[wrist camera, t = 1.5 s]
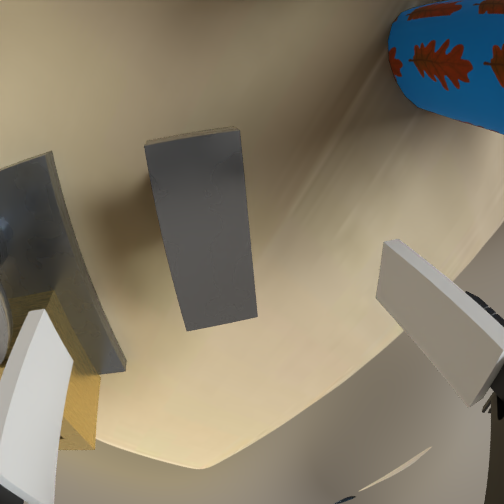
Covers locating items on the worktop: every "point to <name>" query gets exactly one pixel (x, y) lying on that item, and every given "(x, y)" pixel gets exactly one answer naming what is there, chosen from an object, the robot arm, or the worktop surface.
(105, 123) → the worktop surface
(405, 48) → the thermos
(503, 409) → the robot arm
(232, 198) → the grey slab block
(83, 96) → the worktop surface
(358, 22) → the worktop surface
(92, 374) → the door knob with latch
